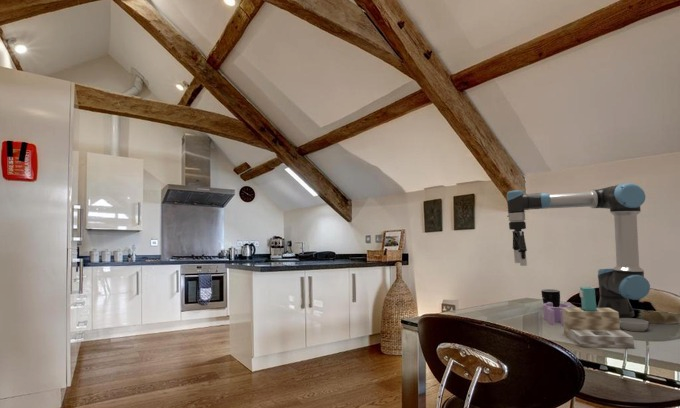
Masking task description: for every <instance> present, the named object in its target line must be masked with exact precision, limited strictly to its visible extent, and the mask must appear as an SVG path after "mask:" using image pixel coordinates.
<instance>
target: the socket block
mask: <svg viewBox="0 0 680 408" xmlns="http://www.w3.org/2000/svg"><path fill="white" fill-rule="evenodd" d="M596 309H597V311H583V310H582V307H571V308H562V313H563V325H564V326H563V334H564V335H566V336H567V337H568V338H569V339H570V340H572V342H574V343H576V345H577V346H579V347H583V348H584V347H585V348H586V347H587V348H618V349H621V348H622V349H635V340H634V336H633V335H631V334H629V333H627V332H625V331H623V330H622V329H621V327H620V323H619V312H617V311H615V310H613V309H611V308H597V307H596Z"/></svg>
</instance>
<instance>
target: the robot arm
mask: <svg viewBox="0 0 680 408" xmlns="http://www.w3.org/2000/svg"><path fill="white" fill-rule="evenodd" d="M645 201H646V193H645V191H644V190H643V188H642V187H640V186H639V185H638V184H635V183H629V182H628V183H621V184H615V185H610V186H607V187H603V188H598V189H591V190H589V191H584V192H583V191H581V192H580V191H579V192H568V193H566V192H565V193H547V192H537V193H524V191H523V190H521V189H519V190H518V189H517V190H510V191H507V193H506V204H507V215H506V216H507V218H508V221H509V223H508V227H509V229H508V230H512V249H513V257H514V258H513V259H514V264H519V266H520V267H527V266H528V263H527V254H526V253H527V251H528V249H527V244H526V239H525V234H524V233H525V232H524V231H523V230H526V229H527V222H526V211H529V210H543V209H544V210H547V209H565V208H566V209H567V208H584V207H585V208H586V207H588V208H591V209H607V210H608V209H609V213H610V214H611V215H613V218H614V219H613V220H614V239H615V240H614V241H615V259H616V264H615V266H614V267H613V268H600V269H598V270H597V280H598V290H599V301H598V305H597V306H596V308H611V309H613V310H615V311H617V312H619V318H633V317H635V311H634V309H633V307H632V305H631V303H630V300H633V301H635V300H636V301H639V300H641V299H644V298H646V296H648V294H649V293H650V291H651V285H650V281H649V280H648V279H647V278H646V277H645V272H644V269H643V268H642V267H640V255H639V254H640V253H639V237H638V233H639V232H638V214H641V212H642V211H641V206H642V205H643V204H644V203H645Z"/></svg>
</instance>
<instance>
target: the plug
mask: <svg viewBox="0 0 680 408" xmlns="http://www.w3.org/2000/svg"><path fill="white" fill-rule="evenodd" d="M578 292H579V297H580V301H581V308H582V310H583V311H597V309H596V308H597V301H596V288H595V287H591V286H580V287H579V291H578Z"/></svg>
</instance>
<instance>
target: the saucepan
mask: <svg viewBox="0 0 680 408" xmlns="http://www.w3.org/2000/svg"><path fill="white" fill-rule="evenodd" d="M619 323H620V329H621V330H625V331H631V332H646V331H647V330H648V327H649V325H650V324H649V321H648V320H645V319H642V318H641V319H640V318H633V317H628V318H619ZM645 330H646V331H645Z"/></svg>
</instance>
